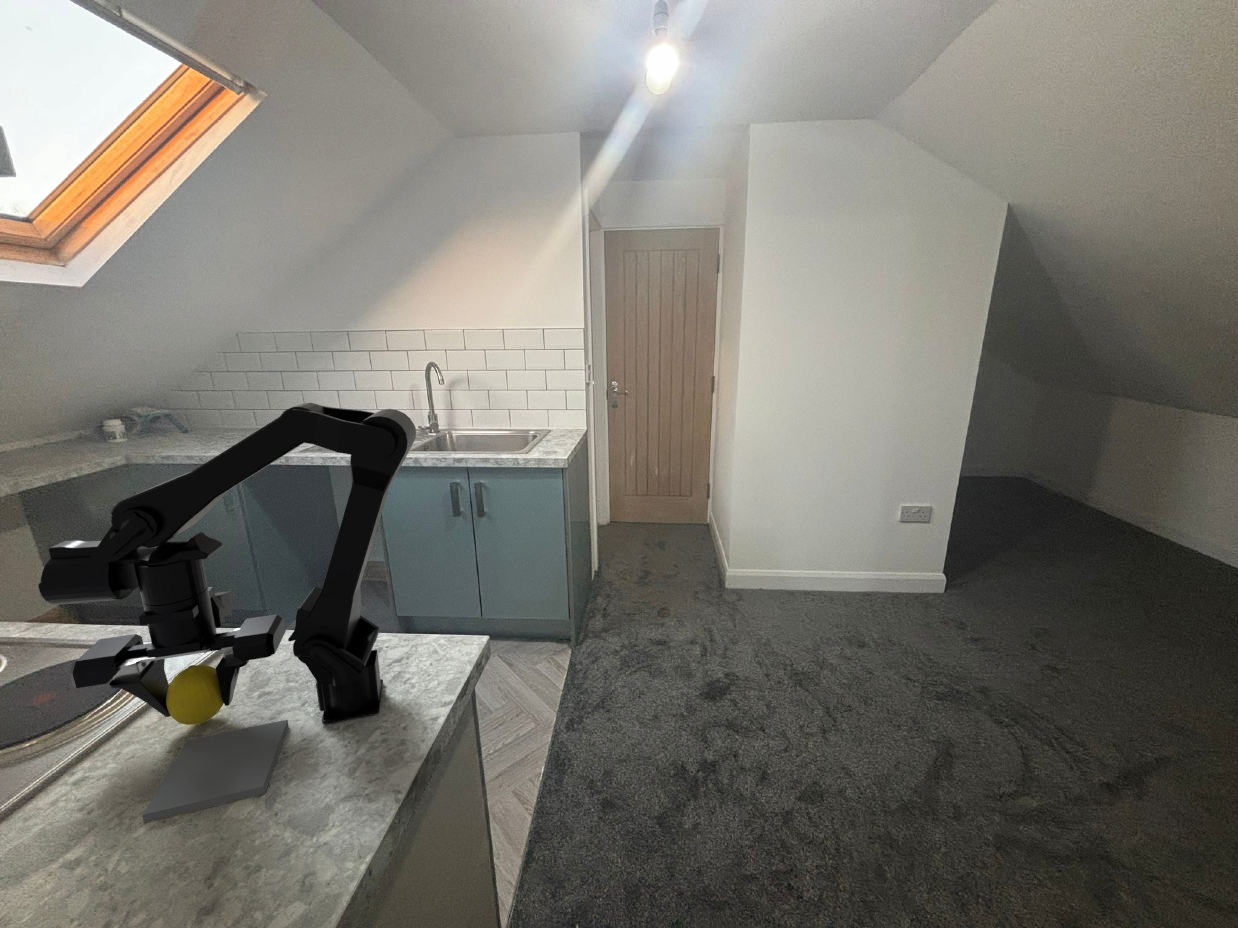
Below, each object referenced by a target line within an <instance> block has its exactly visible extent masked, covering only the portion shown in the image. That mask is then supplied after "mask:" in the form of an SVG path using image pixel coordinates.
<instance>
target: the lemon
mask: <svg viewBox="0 0 1238 928" xmlns="http://www.w3.org/2000/svg"><path fill="white" fill-rule="evenodd" d="M168 684H169V687H168V691H167V696H166V704H167V708H168V711H169V713H170V715H171V716H170V717H171V718H172V719H173V720H175V722H177V723H179V724H182V725H187V726H188V725H189V726H191V725H198V724H199V725H204V724H205V723H207V722H208V720H210V719H211V718H213V717H214V716H215V715H217V714H218V712H219V711H220V710H221V709H222V707H223V706H224V705H225V704H224V702H223V700H222V697H221V692H220V687H219V683H218V678H217V674H216V667H213V666H210V665H206V664H197V665H195V664H192V665H189V666H188V667H187V668H185V669H183V670H181V671H180V672H179V673H177V674H176V675H175V676H174V677H173V679H172V680H171V681H170V683H168Z"/></svg>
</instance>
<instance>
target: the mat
mask: <svg viewBox="0 0 1238 928" xmlns="http://www.w3.org/2000/svg"><path fill="white" fill-rule="evenodd" d="M288 729H289V720H288V719H284V720H280V721H279V720H278V721H274V722H270V723H269V722H268V723H265V724H264V723H263V724H260V725H255V726H249V727H244V728H238V729H233V730H230V731H225V732H224V731H223V732H219V733H215V734H210V735H203V736H199V737H198V736H197V737H195V738H188V739H186V741H185V743H184V744H183V746H182V747H181V749H180V750H179V753H178V755H177V757H175V760H174V761H173V763H172V765H171V766H170V767H169V769H168V772H166V775H165V776H164V778H163V779H162V781H161V783H160V785H159V786H158V788H157V790H156V791H155V793H154V795H153V796H152V798H151V799H150V802H149V803H148V804H147V806H146V808H145V809H144V811H143V813H142V819H143V823H144V824H145V823H150V822H154V821H158V820H163V819H167V818H171V817H176V816H180V815H184V814H188V813H192V812H196V811H201V810H203V809H208V808H212V807H217V806H221V805H224V804H229V803H233V802H236V801H242V800H246V799H251V798H255V797H258V796H262V795H265V793H266V790H267V788H268V786H269V782H270V780H271V778H272V774H273V771H274V768H275V765H276V763H277V760H278V757H279V754H280V752H281V750H282V749H281V748H282V746H283V744H284V741H285V737H286V736H287V734H288V733H287V732H288Z"/></svg>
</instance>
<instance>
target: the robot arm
mask: <svg viewBox="0 0 1238 928" xmlns="http://www.w3.org/2000/svg"><path fill="white" fill-rule="evenodd" d="M416 438H417V428H416V426H415V424H414V422H413V421H412V418H410V417H409V416H408V415H407V414H406V413H405V412H402V411H400V410H398V409H392V408H387V409H381V410H379V411H376V412H372V411H367V410H359V409H353V408H351V409H350V408H340V407H331V406H325V405H321V404H317V403H314V402H304V403H300V404H297V405H295V406H293V407H290V408H287V409H286V410H284V411H283V412H282V413H281V414H280V416H278V417H277V418H275V419H274V420H272V421H270V422H268V423H267V424H266V425H264V426H263V427H261V428H260V429H258V430H257V431H255V432H253V433H252V434H250V435H248V436H246V437H245V438H244V439H242V440H240V441H238V442H237V443H235V444H234V445H232V446H231V447H229V448H227V449H226V450H224V451H222V452H221V453H220V454H218V455H216V456H215V457H213V458H212V459H210V460H208V461H207V462H205V463H203V464H201V465H200V466H199V467H196V468H195V469H194V470H192V471H189V472H186V473H183V474H181V475H179V476H176V477H173V478H171V479H169V480H166V481H164V482H161V483H159V484H157V485H154V486H152V487H149V488H147V489H145V490H143V491H141V492H138V493H136V494H133V495H131V496H130V497H127V498H125V499H122V500H121V501H118V502H117V503H116V504H115V505H114V506H113V508H112V509H111V511H110V516H111V518H110V519H111V520H110V521H111V526H110V528H109V529H108V531H107V532H106V533H105V534H104V536H103V538H102V539H101V540H90V541H84V540H64V541H61V542H60V543H58V544H55V545H53V546H51V547H49V549H48V553H49V556H50V558H49V559H48V561H47V562H46V564H45V565H44V567H43V570H42V572H41V575H40V576H41V577H40V582H39V583H38V590H39V593H40V595H41V597H42V598H43V599H44V601H45V602H47V603H49V604H51V605H55V606H56V605H69V604H80V603H81V604H83V603H93V602H107V601H108V602H109V601H119V600H124V599H126V598H128V597H129V596H130V595H131V594H132V593H133V592H134V590H136V589H138V588H139V593H140V598H141V601H142V607H143V612H142V613H141V614H140V615H139V616H138V621H139V625H140V626H146V625H147V628H148V632H149V633H148V634H149V637H150V641H151V642H150V643H144V641H143V636H142V635H139V634H137V633H134V634H126V635H119V636H113V637H105V638H99V639H98V640H97V641H96V642H95V643H94V644H93V645H92V646H91V647H90V648H89V649H88V650H86V651H85V652H84V653H83V654H82V655H81V656H80V657H79V658H78V659H76V661H75V662H73V664H71V666H70V670H69V677H70V681H71V684H72V687H73V688H75V689H82V688H87V687H94V686H99V685H101V686H102V685H104V684H105V685H106V684H108V685H109V688H110V689H121V690H123V691H125V692H127V693H129V694H131V695H133V696H134V697H136V698H138V699H140V700H141V701H143V702H144V703H145V704H146V705H148V706H150V707H151V708H153V709H154V710H155V711H157V712H159V713H160V714H161V715H163V717H165V718H169V717H171V715H170V713H169V711H168V708H167V704H166V696H167V691H168V687H169V684H170V683H169V682H168V677H167V674H166V670H165V661H166V659H172V658H178V657H185V656H191V655H197V654H203V653H209V652H215V651H221V654H222V655H223V656H222V658H221V659H220V660H219V662H218V664H217V665H216V667H215V669H216V674H217V678H218V683H219V687H220V692H221V697H222V700H223V702H224V704H223V705H224V706H225V707H229V706H230V705H231V703H232V701H233V698H234V694H235V689H236V685H237V681H238V677H239V674H240V669H241V668H243V667H246V666H247V665H248V664H249V662H250V661H252V660H258V659H265V658H269V657H271V656H273V655H276V653H277V650H278V649H279V646H280V644H281V642H282V640H283V638H284V636H285V633H286V624H285V619H284V618H283V617H281V616H280V615H278V614H270V615H263V616H256V617H248V618H245V620H244V622H243V623H242V625H240V627H237V628H234V629H231V630H230V631H225V632H218V633H217V628H222V627H223V626H224V624H225V623H226V619H225V617H231V616H232V615H233V614H232V613H233V612H232V591H230V590H229V591H221V592H215V590H214V588H213V586H209V585H208V582H207V576H206V570H205V564H204V560H207V559H208V558H209V557H211V556H212V555H213V554H214V553H216V552H217V551H218V550H220V549H221V548H222V547H223V546H224V544H223V542H221V541H220V540H218V539H216V538H212V537H210V536H208V535H206V534H205V532H202V531H201V532H198V533H196V534H194V536H192V537H190V538H189V539H185V540H184V539H183V540H182V539H181V540H171V539H173V538H175V537H176V536H178V535H179V534H181V533H183V532H184V531H186V530H187V529H189V528H191V527H192V526H194V525H195V524H197V523H199V521H200V520H201V519H203V518H204V516H206V515H207V513H209V512H210V511H211V510H212V509H213V508H214V507H215V506H216V505H217V504H218V503H219V502H220V500H221V499H222V498H223V497H224V496H225V495H227V493H228V492H230V491H231V490H232V489H233V488H235V487H236V486H239V485H240V484H241V483H243V482H245V481H246V480H248V479H249V478H251V477H253V476H254V475H255V474H256V475H257V473H259V472H260V471H262V470H263V469H265V468H267V467H268V466H270V465H272V464H273V463H275V462H276V461H278V460H280V459H281V458H283V457H284V456H286V455H288V454H289V453H291V452H292V451H294V450H296V449H297V448H298V447H300V446H302V445H303V444H308V445H309V444H310V445H315V446H317V447H319V448H320V447H321V448H324V449H326V450H328V451H331V452H335V453H339V454H345V455H349V456H350V460H349V461H350V462H349V464H350V476H351V488H350V489H351V490H350V491H349V495H348V498H347V502H346V506H345V509H344V511H343V515H342V519H341V522H340V525H339V530H338V533H337V534H338V535H337V538H336V541H335V543H334V547H333V551H332V554H331V557H330V561H329V564H328V565H329V566H328V569H327V572H326V575H325V579H324V583H323V586H322V588H320V587H317V586H314V587H313V588H312V589H311V590H310V592H309V593H308V595H307V596H306V598H305V599H304V600H303V602H301V604H300V605H299V608H298V609H297V611H296V615H295V626H294V630H293V631H292V633H291V635H290V636H289V637H288V639H287V641H288V642H293V645H292V652H293V655H294V657H297V658H298V660H299V661H300V662H301V663H303V664H304V665H306V667H307V668H308V671H310V673H311V674H312V676H313V678H314V680H316V683H315V687H316V693H317V701H318V702H317V703H318V708H319V710H318V711H320V712H323V714H322V717H321V724H322V725H327V724H333V723H337V722H342V721H343V722H344V721H347V720H353V719H358V718H362V717H367V716H372V715H376V714H379V712H380V709H381V703H382V695H383V688H384V680H383V679H381V673H380V665H379V654H378V650H377V649H373V647H374V644H375V643H376V642H377V639H378V635H379V632H380V627H379V626H377V625H376V624H374V623H373V622H371V621H370V620H368V619H367V618H366V617H364V616H363V615H361V611H362V610H361V609H362V593H361V583H362V580H363V578H364V577H363V576H364V573H365V569H366V567H367V563H368V559H369V556H370V554H371V550H372V547H373V544H374V540H375V537H376V535H377V534H376V533H377V530H378V527H379V523H380V520H381V517H382V513H383V510H384V507H385V503H386V500H387V496H388V494H389V490H390V487H391V485H392V483H393V481H394V480H395V477H396V476H397V475H398V472H399V471H400V469H401V467H402V465H403V464H404V462H405V459H406V458H407V455H408V454H409V452H410V450H411V449H412V446H413V445H414V443H415V440H416ZM141 547H144V548H141Z"/></svg>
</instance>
